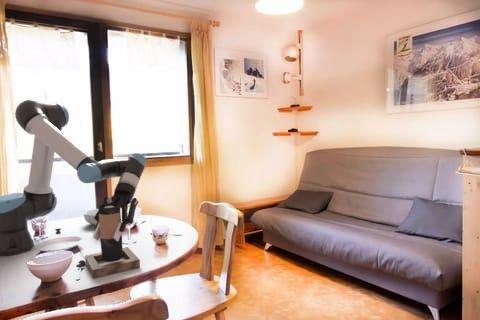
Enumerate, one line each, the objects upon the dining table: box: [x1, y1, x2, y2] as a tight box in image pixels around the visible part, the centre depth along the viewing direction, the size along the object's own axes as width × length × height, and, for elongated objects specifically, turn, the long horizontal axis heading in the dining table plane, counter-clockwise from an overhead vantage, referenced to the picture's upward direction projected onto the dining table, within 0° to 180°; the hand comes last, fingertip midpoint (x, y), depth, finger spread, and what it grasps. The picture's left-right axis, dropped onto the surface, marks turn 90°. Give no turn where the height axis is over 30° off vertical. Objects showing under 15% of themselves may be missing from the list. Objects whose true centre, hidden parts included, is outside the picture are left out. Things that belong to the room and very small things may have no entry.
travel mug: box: [97, 203, 123, 262], centre depth 128 cm, size 8×8×20 cm
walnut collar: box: [84, 246, 141, 279], centre depth 129 cm, size 16×16×3 cm
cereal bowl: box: [83, 208, 99, 227], centre depth 184 cm, size 17×17×7 cm
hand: (105, 238), depth 124 cm, fingers closed on travel mug, 7 cm apart
